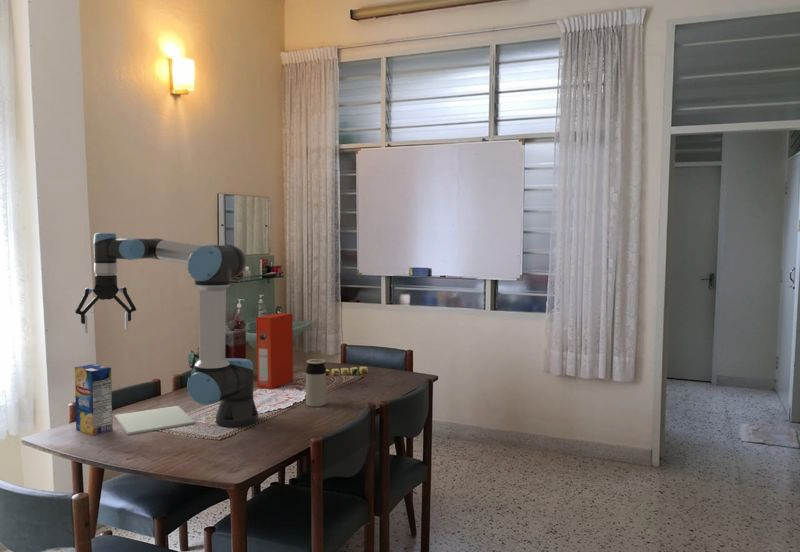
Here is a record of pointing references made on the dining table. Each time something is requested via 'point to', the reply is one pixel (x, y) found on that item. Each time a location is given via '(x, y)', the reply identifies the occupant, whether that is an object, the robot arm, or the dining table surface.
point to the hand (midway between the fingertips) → (106, 331)
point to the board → (153, 420)
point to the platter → (347, 371)
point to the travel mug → (315, 383)
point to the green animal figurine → (193, 360)
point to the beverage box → (93, 399)
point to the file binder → (274, 350)
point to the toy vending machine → (235, 342)
